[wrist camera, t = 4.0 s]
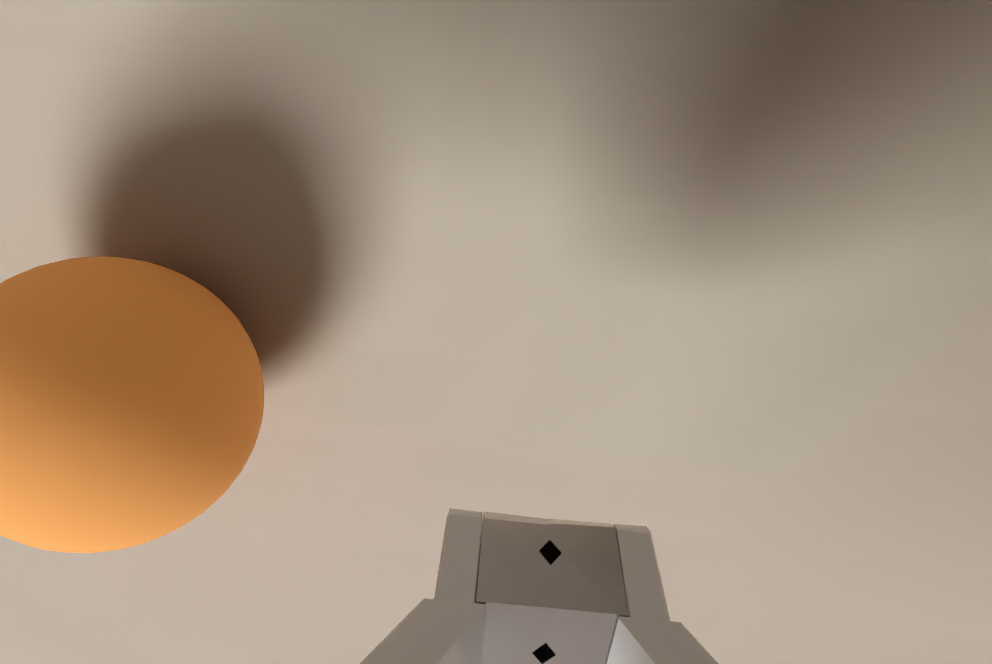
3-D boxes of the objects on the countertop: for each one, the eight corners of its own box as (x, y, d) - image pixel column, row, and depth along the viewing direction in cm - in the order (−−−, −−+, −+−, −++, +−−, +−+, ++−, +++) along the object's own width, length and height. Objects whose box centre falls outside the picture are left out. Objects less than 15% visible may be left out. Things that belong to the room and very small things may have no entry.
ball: (307, 442, 16) (205, 639, 11) (90, 417, 16) (-106, 602, 11) (293, 231, 13) (151, 369, 9) (34, 204, 13) (-252, 325, 9)
